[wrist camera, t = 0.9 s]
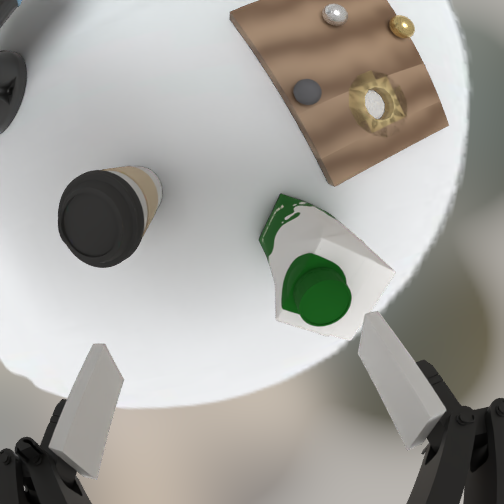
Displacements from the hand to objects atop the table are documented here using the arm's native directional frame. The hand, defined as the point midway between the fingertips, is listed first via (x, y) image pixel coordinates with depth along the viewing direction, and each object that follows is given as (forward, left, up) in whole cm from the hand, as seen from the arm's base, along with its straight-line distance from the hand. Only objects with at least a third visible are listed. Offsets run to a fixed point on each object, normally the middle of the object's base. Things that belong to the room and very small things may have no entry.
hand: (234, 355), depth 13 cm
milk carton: (+6, +6, -26) cm, 27 cm away
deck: (-10, +24, -26) cm, 37 cm away
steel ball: (-17, +24, -22) cm, 37 cm away
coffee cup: (-9, -9, -26) cm, 29 cm away
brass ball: (-13, +33, -21) cm, 42 cm away
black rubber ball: (-9, +15, -22) cm, 28 cm away
